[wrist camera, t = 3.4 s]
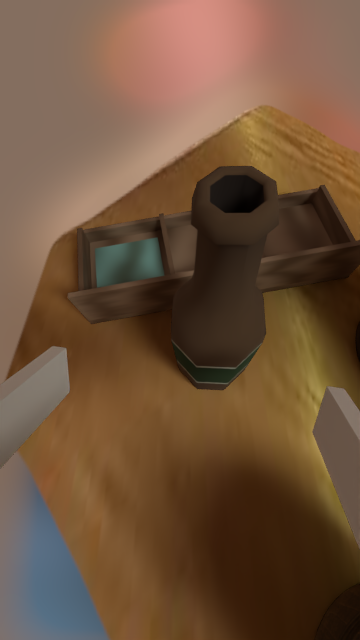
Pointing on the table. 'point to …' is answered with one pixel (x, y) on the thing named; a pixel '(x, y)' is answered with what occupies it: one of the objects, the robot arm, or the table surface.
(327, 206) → the condiment rack
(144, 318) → the table surface
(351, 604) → the wooden container
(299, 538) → the table surface
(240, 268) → the beer bottle
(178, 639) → the table surface
